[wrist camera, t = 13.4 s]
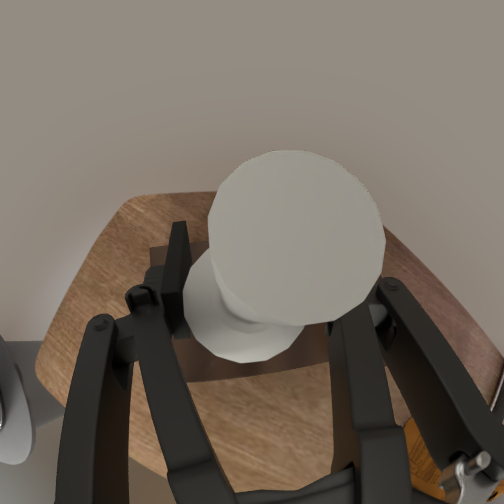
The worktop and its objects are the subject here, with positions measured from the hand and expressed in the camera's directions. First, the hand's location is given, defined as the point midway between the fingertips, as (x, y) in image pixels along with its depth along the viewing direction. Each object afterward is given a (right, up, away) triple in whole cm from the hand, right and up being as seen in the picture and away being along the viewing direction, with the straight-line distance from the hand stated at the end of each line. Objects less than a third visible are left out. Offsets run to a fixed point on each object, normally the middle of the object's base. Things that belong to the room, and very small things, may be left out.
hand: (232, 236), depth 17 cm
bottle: (0, -7, +10) cm, 12 cm away
